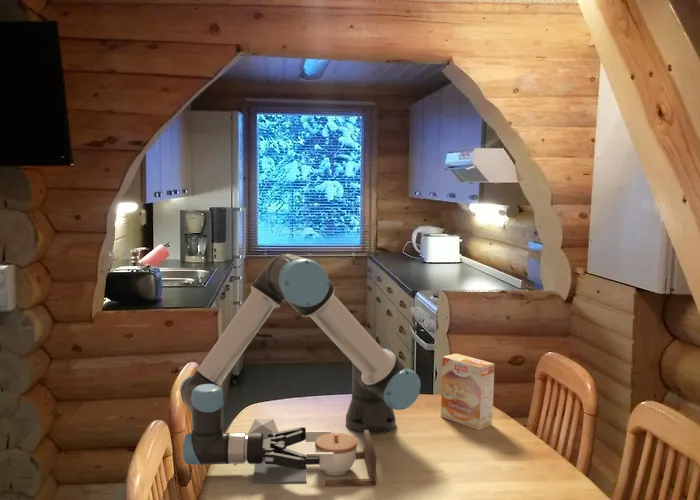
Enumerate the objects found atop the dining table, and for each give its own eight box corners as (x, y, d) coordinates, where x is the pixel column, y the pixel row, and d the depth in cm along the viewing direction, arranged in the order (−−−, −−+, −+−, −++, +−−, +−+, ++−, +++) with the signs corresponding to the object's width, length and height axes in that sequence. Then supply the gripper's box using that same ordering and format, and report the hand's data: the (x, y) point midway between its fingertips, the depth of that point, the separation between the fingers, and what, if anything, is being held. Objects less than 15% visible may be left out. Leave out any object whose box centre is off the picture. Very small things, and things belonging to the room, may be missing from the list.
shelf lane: (367, 455, 171) (368, 429, 170) (375, 485, 153) (376, 457, 153) (322, 455, 170) (322, 430, 169) (325, 486, 152) (325, 458, 152)
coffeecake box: (439, 416, 200) (441, 356, 198) (454, 411, 205) (456, 352, 203) (478, 431, 189) (481, 367, 187) (493, 425, 194) (495, 362, 192)
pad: (305, 459, 167) (305, 458, 167) (306, 482, 154) (306, 481, 154) (256, 460, 166) (256, 459, 166) (252, 483, 153) (252, 482, 153)
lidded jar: (336, 457, 169) (337, 423, 168) (365, 470, 161) (366, 435, 160) (305, 469, 161) (306, 434, 160) (334, 484, 154) (335, 447, 153)
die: (264, 459, 168) (285, 427, 170) (238, 441, 169) (258, 410, 171) (268, 457, 176) (287, 427, 178) (242, 440, 177) (262, 410, 179)
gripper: (250, 442, 171) (329, 441, 173) (242, 486, 147) (334, 484, 148) (251, 415, 171) (329, 414, 172) (242, 454, 146) (334, 453, 147)
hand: (332, 446), depth 160 cm, fingers open, 13 cm apart
